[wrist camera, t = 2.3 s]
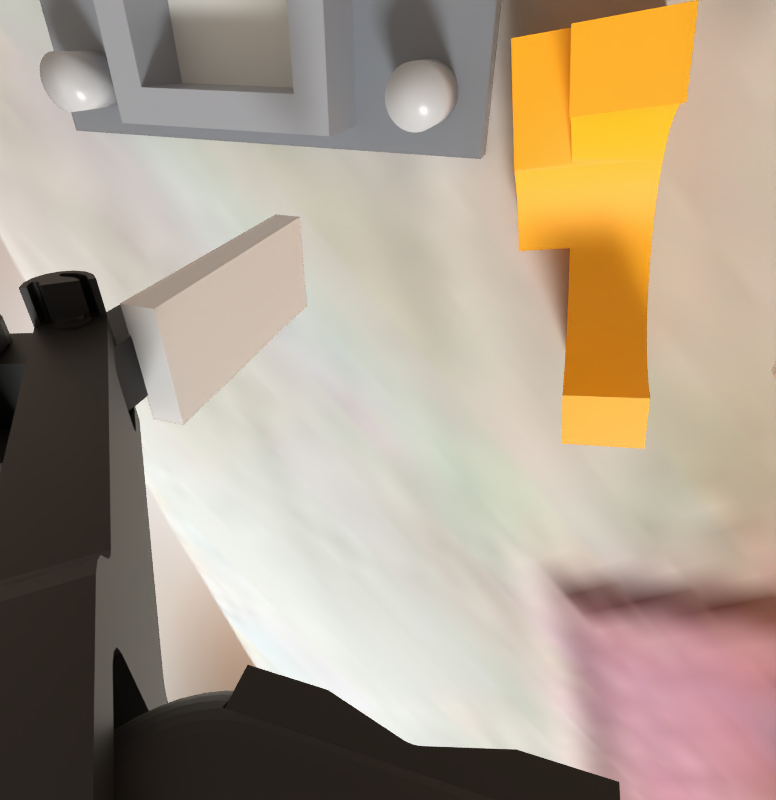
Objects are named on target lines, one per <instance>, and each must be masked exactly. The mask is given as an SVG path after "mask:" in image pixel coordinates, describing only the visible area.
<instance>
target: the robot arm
mask: <svg viewBox="0 0 776 800" xmlns="http://www.w3.org/2000/svg"><path fill="white" fill-rule="evenodd" d="M19 290H20V292H21V295H22V297H23V300H24V302H25V305H26V307H27V310H28V312H29V315H30V318H31V320H32V323H33V325H34V332H33V333H20V334H19V333H18V334H9V331H8V329H7V327H6V324H5V322H4V320H3V317H2V316H1V315H0V800H620V789H619V782H617V781H614V780H611V779H608V778H605V777H601V776H598V775H595V774H592V773H589V772H586V771H582V770H579V769H576V768H573V767H570V766H567V765H563V764H560V763H557V762H554V761H551V760H548V759H544V758H541V757H538V756H535V755H532V754H529V753H525V752H522V751H519V750H511V749H484V748H456V747H429V746H417V745H413V744H410V743H408V742H406V741H404V740H402V739H401V738H399V737H398V736H396V735H395V734H393V733H392V732H390V731H389V730H387V729H386V728H384V727H383V726H381V725H380V724H378V723H377V722H375V721H374V720H372V719H371V718H369V717H368V716H366V715H365V714H363V713H362V712H360V711H359V710H357V709H356V708H354V707H353V706H351V705H350V704H348V703H347V702H345V701H343V700H342V699H340V698H339V697H337V696H336V695H334V694H333V693H331V692H330V691H328V690H326V689H323V688H320V687H316V686H313V685H310V684H307V683H304V682H301V681H297V680H294V679H291V678H288V677H285V676H282V675H278V674H275V673H272V672H269V671H266V670H263V669H259V668H256V667H253V666H250V665H247V667H246V669H245V671H244V673H243V675H242V677H241V679H240V680H239V682H238V684H237V686H236V688H235V690H234V691H219V692H209V693H203V694H198V695H194V696H190V697H186V698H181V699H178V700H176V701H173V702H170V703H168V701H167V697H166V693H165V687H164V679H163V672H162V671H163V670H162V659H161V649H160V639H159V627H158V617H157V606H156V596H155V584H154V574H153V562H152V553H151V541H150V530H149V519H148V509H147V498H146V487H145V476H144V466H143V455H142V444H141V433H140V423H139V418H138V414H137V411H136V408H135V406H136V405H137V404H138V403H139V402H140V401H142V400H143V399H144V398H145V397H147V398H148V402H149V405H150V409H151V412H152V416H153V419H156V420H161V421H166V422H170V423H175V424H180V425H184V424H185V423H186V422H187V421H188V420H189V419H190V418H191V417H192V416H193V415H194V414H196V413H197V412H198V411H199V410H200V409H201V408H202V407H203V406H204V405H205V404H206V403H207V402H208V401H209V400H210V399H211V398H212V397H213V396H214V395H215V394H216V393H217V392H218V391H219V390H220V389H221V388H222V387H223V386H224V385H225V384H226V383H227V382H229V381H230V380H231V379H232V378H233V377H234V376H235V375H236V374H237V373H238V372H239V371H240V370H241V369H242V368H243V367H244V366H245V365H246V364H247V363H248V362H249V361H250V360H251V359H252V358H253V357H254V356H255V355H256V354H257V353H258V352H259V351H260V350H262V349H263V348H264V347H265V346H266V345H267V344H268V343H269V342H270V341H271V340H272V339H273V338H274V337H275V336H276V335H277V334H278V333H279V332H280V331H281V330H282V329H283V328H284V327H285V326H286V325H287V324H288V323H289V322H290V321H291V320H292V319H293V318H295V317H296V316H297V315H298V314H299V313H300V312H301V311H302V310H303V309H304V308H305V307H306V306H307V302H306V289H305V277H304V264H303V251H302V239H301V226H300V217H295V216H284V215H274V216H272V217H271V218H269V219H267V220H265V221H264V222H262V223H260V224H258V225H257V226H255V227H253V228H251V229H250V230H248V231H246V232H244V233H243V234H241V235H239V236H237V237H236V238H234V239H232V240H230V241H229V242H227V243H225V244H223V245H222V246H220V247H218V248H216V249H215V250H213V251H211V252H210V253H208V254H206V255H204V256H203V257H201V258H199V259H197V260H196V261H194V262H192V263H190V264H189V265H187V266H185V267H183V268H182V269H180V270H178V271H176V272H175V273H173V274H171V275H169V276H168V277H166V278H164V279H162V280H161V281H159V282H157V283H155V284H154V285H152V286H150V287H148V288H147V289H145V290H143V291H141V292H140V293H138V294H136V295H134V296H133V297H131V298H129V299H127V300H126V301H124V302H122V303H120V305H118V306H117V307H115V308H113V309H111V310H110V311H108V312H106V310H105V307H104V304H103V300H102V297H101V294H100V291H99V287H98V284H97V281H96V278H95V276H94V275H93V274H91V273H88V272H83V271H62V272H55V273H49V274H45V275H41V276H38V277H35V278H32V279H30V280H28V281H26V282H24V283H23V284H22V285H21V286H20V287H19ZM772 372H773V374H774V376H775V378H776V362H775V364H774V366H773V368H772Z"/></svg>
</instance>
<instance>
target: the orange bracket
mask: <svg viewBox="0 0 776 800" xmlns="http://www.w3.org/2000/svg"><path fill="white" fill-rule="evenodd" d="M698 1H699V0H696V1H691V2H685V3H680V4H674V5H669V6H664V7H658V8H653V9H647V10H642V11H637V12H631V13H626V14H620V15H615V16H610V17H604V18H599V19H593V20H588V21H583V22H577V23H572V24H571V27H570V28H565V29H559V30H554V31H548V32H543V33H537V34H532V35H527V36H521V37H516V38H511V58H512V99H513V140H514V171H515V181H516V192H517V206H518V229H519V251H525V250H544V249H563V248H570V264H569V291H568V315H567V336H566V354H565V371H564V385H563V401H562V443H564V444H580V445H596V446H612V447H627V448H643V449H644V445H645V437H646V429H647V421H648V412H649V404H650V393H649V384H648V370H647V301H648V282H649V266H650V253H651V242H652V232H653V222H654V214H655V206H656V198H657V191H658V184H659V178H660V172H661V166H662V161H663V156H664V151H665V146H666V142H667V138H668V134H669V130H670V127H671V123H672V120H673V117H674V115H675V112H676V110H677V108H678V107H679V105H680V104H681V103H684V102H686V100H687V92H688V83H689V75H690V67H691V59H692V50H693V42H694V34H695V26H696V18H697V9H698Z"/></svg>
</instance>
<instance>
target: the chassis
mask: <svg viewBox="0 0 776 800" xmlns="http://www.w3.org/2000/svg"><path fill="white" fill-rule="evenodd" d="M40 3H41V7H42V10H43V14H44V17H45V21H46V24H47V28H48V31H49V35H50V39H51V42H52V46H53V49H54V51H53V52H48V53H46V54H45V55H44V56H43V58H42V60H41V63H40V76H41V81H42V84H43V86H44V89H45V91H46V93H47V94H48V96H49V97H50V99H51V100H52V101H53V102H54V103H55V104H56V105H57V106H58V107H59V108H61V109H63V110H65V111H68V112H71V113H72V116H73V120H74V124H75V127H76V131H91V132H105V133H119V134H133V135H148V136H162V137H176V138H190V139H205V140H219V141H233V142H247V143H262V144H276V145H290V146H304V147H319V148H333V149H347V150H361V151H376V152H390V153H404V154H418V155H433V156H447V157H461V158H475V159H481V158H482V157H483V156H484V155H485V152H486V142H487V133H488V123H489V114H490V104H491V95H492V85H493V76H494V66H495V56H496V47H497V37H498V28H499V18H500V9H501V0H40Z"/></svg>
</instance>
